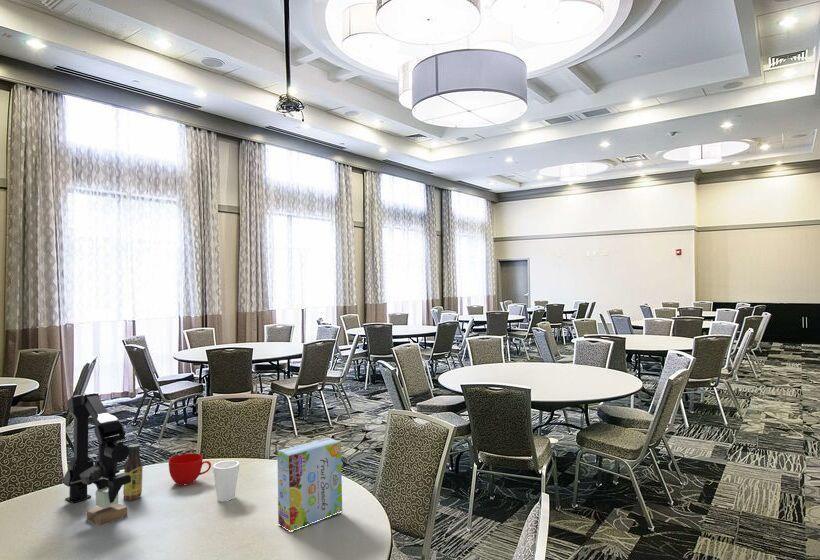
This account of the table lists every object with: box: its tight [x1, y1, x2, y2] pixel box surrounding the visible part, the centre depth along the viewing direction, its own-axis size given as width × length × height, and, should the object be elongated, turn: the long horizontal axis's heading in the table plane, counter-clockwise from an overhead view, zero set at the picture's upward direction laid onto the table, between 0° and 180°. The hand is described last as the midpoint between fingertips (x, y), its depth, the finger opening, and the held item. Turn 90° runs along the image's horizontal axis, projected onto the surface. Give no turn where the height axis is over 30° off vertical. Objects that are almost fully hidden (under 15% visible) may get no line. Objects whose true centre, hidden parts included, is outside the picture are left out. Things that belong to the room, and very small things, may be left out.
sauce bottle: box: [122, 443, 144, 501], centre depth 197 cm, size 7×6×20 cm
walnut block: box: [86, 502, 128, 527], centre depth 179 cm, size 9×9×4 cm
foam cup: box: [212, 459, 240, 503], centre depth 196 cm, size 10×9×13 cm
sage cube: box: [95, 488, 119, 508], centre depth 179 cm, size 5×5×5 cm
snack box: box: [277, 437, 343, 531], centre depth 178 cm, size 22×9×26 cm, turn 134°
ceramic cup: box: [168, 453, 212, 486], centre depth 212 cm, size 13×17×10 cm
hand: (107, 500), depth 180 cm, fingers closed on sage cube, 5 cm apart
